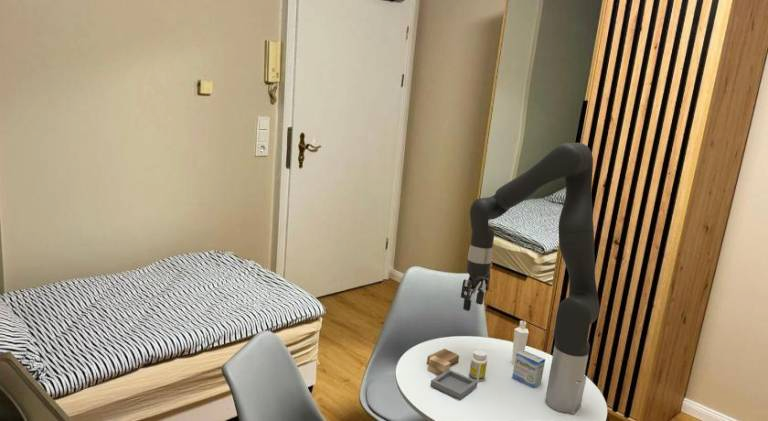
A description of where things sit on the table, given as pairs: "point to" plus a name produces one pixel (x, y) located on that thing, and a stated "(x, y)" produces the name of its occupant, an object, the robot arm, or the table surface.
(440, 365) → the tan rectangular block
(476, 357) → the supplement bottle
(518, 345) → the white plastic bottle
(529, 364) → the medicine box
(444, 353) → the flat cardboard carton
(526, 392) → the table surface
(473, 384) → the tray
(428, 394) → the table surface
